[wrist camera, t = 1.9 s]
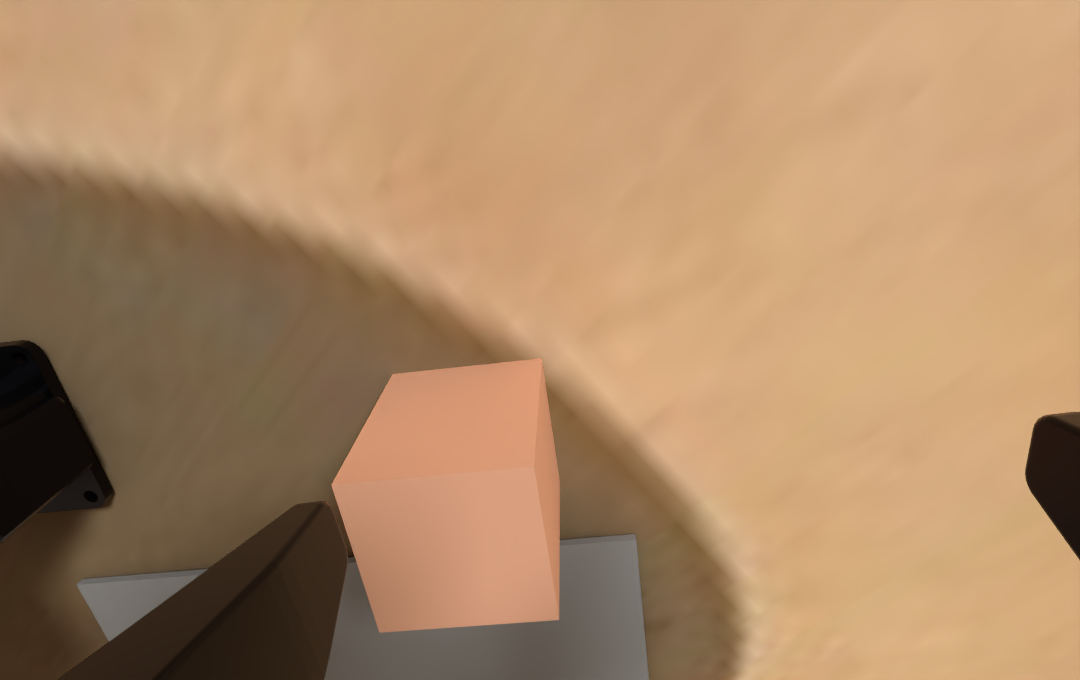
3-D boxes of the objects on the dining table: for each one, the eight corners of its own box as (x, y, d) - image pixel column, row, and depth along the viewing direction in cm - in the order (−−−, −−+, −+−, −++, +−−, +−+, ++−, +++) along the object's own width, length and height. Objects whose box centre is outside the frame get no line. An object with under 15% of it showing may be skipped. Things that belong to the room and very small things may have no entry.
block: (423, 495, 23) (379, 632, 17) (392, 373, 21) (331, 484, 15) (559, 483, 22) (559, 620, 17) (541, 357, 20) (534, 466, 15)
